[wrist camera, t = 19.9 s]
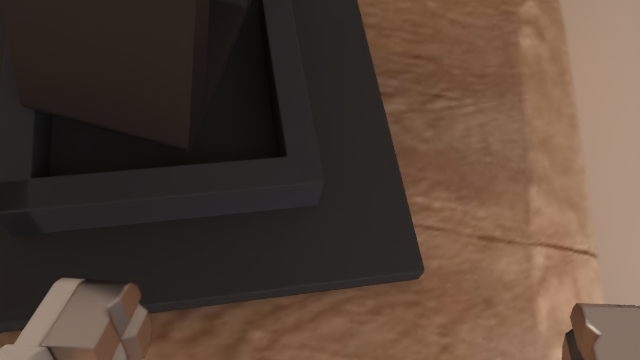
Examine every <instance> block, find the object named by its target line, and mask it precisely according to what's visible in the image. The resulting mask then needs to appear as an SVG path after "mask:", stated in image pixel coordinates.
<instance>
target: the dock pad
mask: <svg viewBox="0 0 640 360" xmlns="http://www.w3.org/2000/svg"><path fill="white" fill-rule="evenodd" d="M423 272H424V266H423V262H422V258H421V254H420V250H419V246H418V242H417V238H416V234H415V230H414V226H413V222H412V218H411V214H410V210H409V206H408V202H407V198H406V194H405V190H404V186H403V182H402V178H401V174H400V170H399V166H398V162H397V158H396V154H395V150H394V146H393V142H392V138H391V134H390V130H389V126H388V122H387V118H386V114H385V111H384V107H383V103H382V99H381V95H380V91H379V87H378V83H377V79H376V75H375V71H374V67H373V63H372V59H371V55H370V51H369V47H368V43H367V39H366V35H365V31H364V27H363V23H362V19H361V15H360V11H359V7H358V3H357V0H252V1H251V4H250V6H249V9H248V11H247V14H246V16H245V19H244V21H243V24H242V26H241V29H240V31H239V34H238V36H237V39H236V41H235V44H234V46H233V48H232V51H231V53H230V55H228V58H227V63H226V66H225V68H224V71H223V73H222V76H221V78H220V81H219V83H218V86H217V88H216V91H215V93H214V95H213V98H212V100H211V103H210V105H209V108H208V110H207V113H206V115H205V118H204V120H203V123H202V125H201V128H200V130H199V133H198V135H197V138H196V140H195V143H194V145H193V147H192V149H191V151H190V152H188V151H184V150H181V149H177V148H173V147H169V146H166V145H162V144H158V143H155V142H151V141H147V140H144V139H140V138H136V137H133V136H129V135H125V134H122V133H118V132H114V131H110V130H107V129H103V128H99V127H96V126H92V125H88V124H85V123H81V122H77V121H74V120H70V119H66V118H63V117H59V116H55V115H51V114H48V113H44V112H40V111H37V110H33V109H29V108H26V107H22V106H21V104H20V100H19V95H18V90H17V85H16V80H15V74H14V69H13V64H12V59H11V54H10V48H9V43H8V38H7V33H6V28H5V22H4V17H3V12H2V7H1V1H0V333H1V332H9V331H17V330H23V329H24V328H25V326H26V325H27V323H28V322H29V320H30V319H31V317H32V316H33V314H34V313H35V311H36V310H37V308H38V307H39V305H40V304H41V302H42V301H43V299H44V298H45V296H46V295H47V293H48V292H49V290H50V289H51V287H52V286H53V284H54V283H55V282H56V281H58V280H59V279H61V278H75V279H92V280H105V281H118V282H131V283H137V284H138V287H139V289H140V291H141V293H142V297H141V299H140V301H139V304H141V305H142V306H143V307H144V308H146V309H147V310H148V312H149V313H157V312H165V311H173V310H180V309H188V308H196V307H204V306H212V305H219V304H227V303H235V302H243V301H251V300H258V299H266V298H274V297H282V296H290V295H297V294H305V293H313V292H321V291H329V290H336V289H344V288H352V287H360V286H368V285H375V284H383V283H391V282H399V281H407V280H414V279H418V278H419V277H420V276H421V275H422V274H423Z"/></svg>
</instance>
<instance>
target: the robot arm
mask: <svg viewBox="0 0 640 360" xmlns="http://www.w3.org/2000/svg"><path fill="white" fill-rule="evenodd" d="M141 297H142V293H141V291H140V289H139V287H138V284H137V283H131V282H118V281H105V280H92V279H75V278H61V279H59V280H58V281H56V282H55V283H54V284H53V286H52V287H51V289H50V290H49V292H48V293H47V295H46V296H45V298H44V299H43V301H42V302H41V304H40V305H39V307H38V308H37V310H36V311H35V313H34V314H33V316H32V317H31V319H30V320H29V322H28V323H27V325H26V326H25V328H24V329H23V331H22V332H21V334H20V335H19V337H18V338H17V340H16V341H15V343H14V344H6V345H4V346H3V347H1V348H0V360H142V359H143V358H144V357H145V355H146V352H147V350H148V347H149V345H150V339H151V333H152V323H151V317H150V314H149V312H148V310H147V309H146V308H144V307H143V306H142V305H141V304H139V301H140V299H141ZM570 319H571V323H572V327H573V329H572V330H570V331H569V332H567V333H566V334H565V338H564V342H563V347H562V360H640V306H635V305H610V304H584V303H576V305H575V306H574V307H573V309H572V312H571V316H570Z"/></svg>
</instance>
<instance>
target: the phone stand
mask: <svg viewBox="0 0 640 360" xmlns="http://www.w3.org/2000/svg"><path fill="white" fill-rule="evenodd" d="M0 1H1V7H2V12H3V17H4V22H5V28H6V33H7V38H8V43H9V48H10V54H11V59H12V64H13V69H14V74H15V80H16V85H17V90H18V95H19V100H20V104H21V106H22V107H26V108H29V109H33V110H37V111H40V112H44V113H48V114H51V115H55V116H59V117H63V118H66V119H70V120H74V121H77V122H81V123H85V124H88V125H92V126H96V127H99V128H103V129H107V130H110V131H114V132H118V133H122V134H125V135H129V136H133V137H136V138H140V139H144V140H147V141H151V142H155V143H158V144H162V145H166V146H169V147H173V148H177V149H181V150H184V151H188V152H190V151H191V149H192V147H193V145H194V143H195V140H196V138H197V135H198V133H199V130H200V128H201V125H202V123H203V120H204V118H205V115H206V113H207V110H208V108H209V105H210V103H211V100H212V98H213V95H214V93H215V91H216V88H217V86H218V83H219V81H220V78H221V76H222V73H223V71H224V68H225V66H226V63H227V58H228V55H230V53H231V51H232V48H233V46H234V44H235V41H236V39H237V36H238V34H239V31H240V29H241V26H242V24H243V21H244V19H245V16H246V14H247V11H248V9H249V6H250V4H251V1H252V0H0Z"/></svg>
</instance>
